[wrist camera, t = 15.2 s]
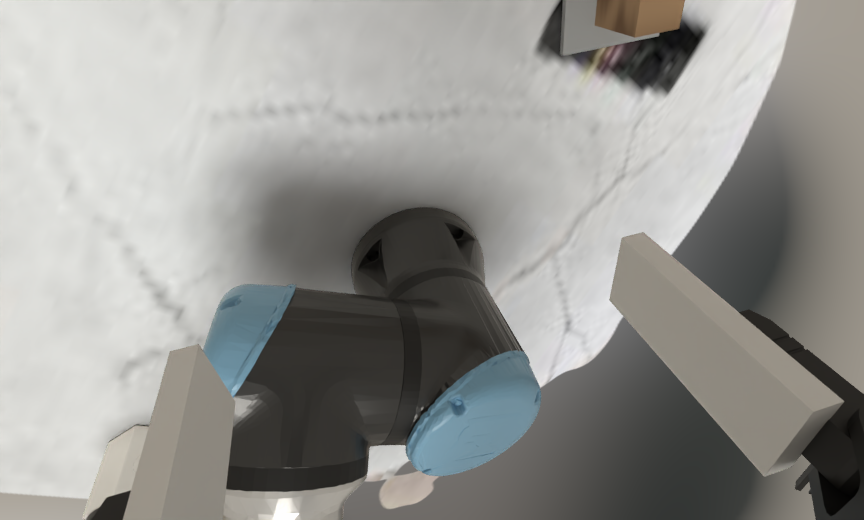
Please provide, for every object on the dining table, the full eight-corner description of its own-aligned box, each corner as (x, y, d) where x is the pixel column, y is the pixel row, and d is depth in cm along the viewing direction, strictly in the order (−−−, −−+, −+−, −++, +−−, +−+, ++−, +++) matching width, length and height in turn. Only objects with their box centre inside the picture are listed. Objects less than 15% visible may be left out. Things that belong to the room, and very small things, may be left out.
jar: (194, 428, 58) (177, 522, 49) (179, 463, 62) (159, 558, 52) (114, 421, 54) (78, 523, 45) (102, 460, 57) (67, 562, 48)
